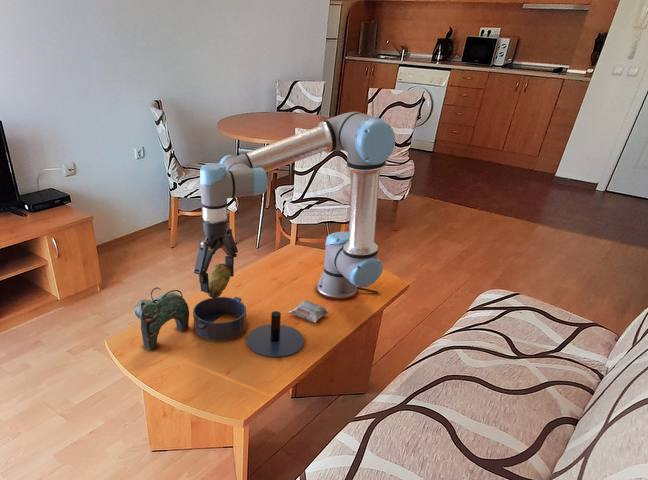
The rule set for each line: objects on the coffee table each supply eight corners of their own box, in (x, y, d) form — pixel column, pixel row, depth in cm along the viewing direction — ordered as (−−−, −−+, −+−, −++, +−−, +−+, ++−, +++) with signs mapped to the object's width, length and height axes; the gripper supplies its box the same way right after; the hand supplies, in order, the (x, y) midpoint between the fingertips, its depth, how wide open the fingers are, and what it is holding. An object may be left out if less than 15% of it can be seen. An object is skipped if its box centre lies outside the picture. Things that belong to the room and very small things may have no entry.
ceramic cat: (148, 354, 162) (140, 300, 150) (136, 346, 166) (127, 293, 154) (193, 329, 174) (189, 277, 162) (181, 322, 177) (176, 271, 166)
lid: (313, 337, 169) (316, 309, 162) (285, 366, 156) (287, 336, 149) (265, 321, 177) (266, 293, 171) (235, 347, 165) (234, 318, 158)
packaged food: (315, 328, 174) (316, 315, 171) (287, 316, 180) (288, 304, 177) (328, 318, 179) (330, 306, 176) (301, 307, 185) (302, 295, 182)
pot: (259, 319, 179) (260, 302, 175) (222, 351, 163) (221, 333, 159) (218, 305, 187) (218, 289, 183) (179, 334, 171) (177, 317, 167)
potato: (196, 295, 161) (194, 273, 156) (219, 280, 169) (218, 258, 165) (216, 302, 157) (215, 280, 152) (239, 286, 165) (239, 264, 161)
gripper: (228, 204, 159) (230, 266, 171) (178, 230, 142) (184, 295, 155) (248, 209, 155) (248, 271, 168) (199, 235, 139) (203, 302, 152)
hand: (217, 283), depth 162 cm, fingers closed on potato, 13 cm apart
